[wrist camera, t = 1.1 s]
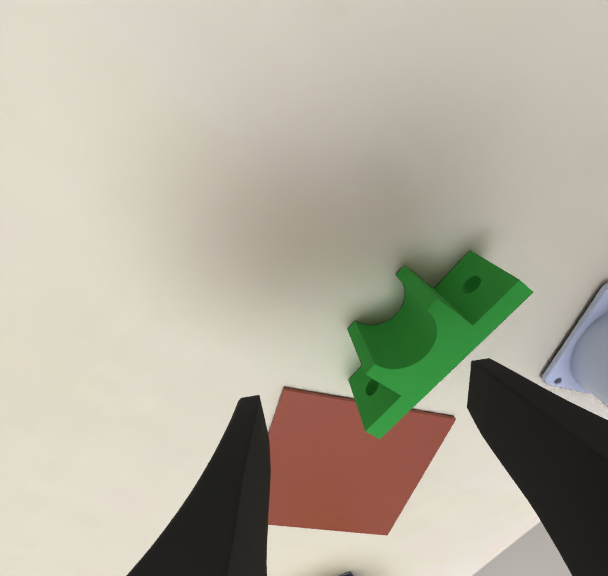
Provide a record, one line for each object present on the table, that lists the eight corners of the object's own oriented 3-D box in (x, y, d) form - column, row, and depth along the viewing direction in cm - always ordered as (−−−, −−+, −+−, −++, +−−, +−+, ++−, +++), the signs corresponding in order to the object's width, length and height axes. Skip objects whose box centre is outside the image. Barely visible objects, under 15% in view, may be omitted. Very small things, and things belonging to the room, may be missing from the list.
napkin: (454, 416, 26) (456, 419, 26) (386, 532, 31) (387, 535, 31) (283, 386, 23) (283, 390, 23) (239, 518, 28) (239, 522, 28)
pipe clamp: (438, 223, 20) (485, 248, 16) (480, 260, 21) (534, 291, 17) (317, 362, 23) (329, 414, 19) (360, 387, 24) (381, 441, 20)
